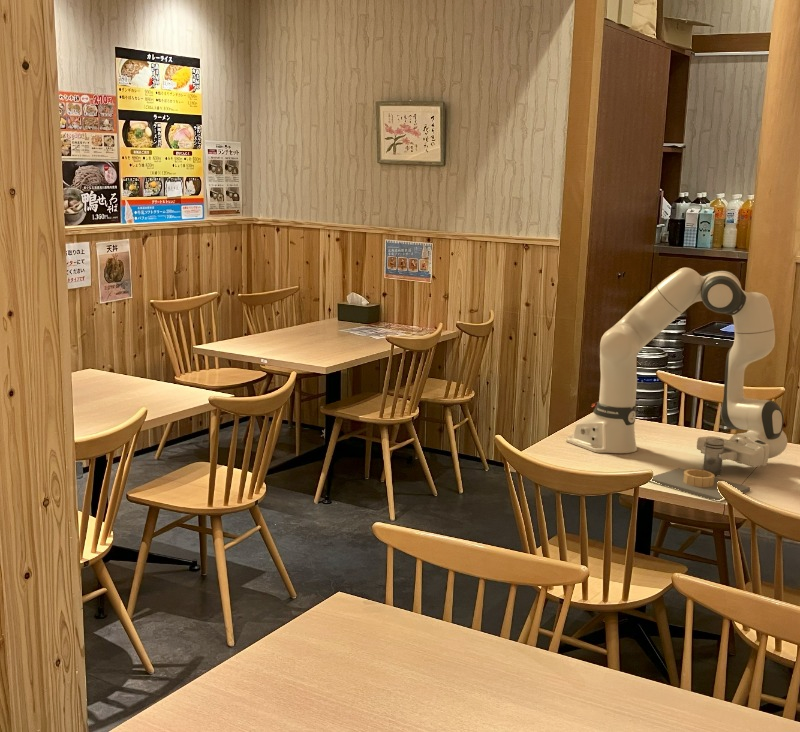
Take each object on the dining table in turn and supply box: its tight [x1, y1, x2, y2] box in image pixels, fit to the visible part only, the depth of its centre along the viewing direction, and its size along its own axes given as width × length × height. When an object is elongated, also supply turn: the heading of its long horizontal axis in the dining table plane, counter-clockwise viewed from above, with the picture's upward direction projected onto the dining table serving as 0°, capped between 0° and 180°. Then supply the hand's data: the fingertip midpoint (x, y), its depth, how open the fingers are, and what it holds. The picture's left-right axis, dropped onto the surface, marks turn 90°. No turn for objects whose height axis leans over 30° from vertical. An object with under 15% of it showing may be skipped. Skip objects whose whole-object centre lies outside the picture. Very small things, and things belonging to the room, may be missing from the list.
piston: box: [702, 438, 724, 477], centre depth 277 cm, size 5×5×10 cm
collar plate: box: [652, 467, 751, 500], centre depth 266 cm, size 22×16×4 cm
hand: (711, 453), depth 277 cm, fingers closed on piston, 5 cm apart
